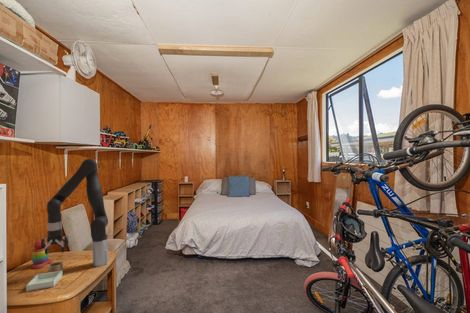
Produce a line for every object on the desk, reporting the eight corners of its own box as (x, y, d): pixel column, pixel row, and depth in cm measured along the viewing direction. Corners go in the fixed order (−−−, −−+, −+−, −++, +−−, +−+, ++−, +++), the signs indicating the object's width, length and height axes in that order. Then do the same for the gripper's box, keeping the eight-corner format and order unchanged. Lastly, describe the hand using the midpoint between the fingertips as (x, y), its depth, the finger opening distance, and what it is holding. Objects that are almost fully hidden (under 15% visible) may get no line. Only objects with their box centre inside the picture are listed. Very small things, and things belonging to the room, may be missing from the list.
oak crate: (63, 270, 152) (62, 261, 152) (59, 274, 146) (59, 265, 146) (52, 271, 150) (52, 262, 150) (48, 276, 144) (48, 267, 144)
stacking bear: (38, 269, 154) (38, 243, 154) (27, 268, 156) (26, 242, 156) (54, 261, 164) (53, 237, 164) (43, 260, 166) (42, 236, 166)
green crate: (62, 275, 145) (62, 270, 145) (53, 286, 132) (53, 280, 132) (37, 279, 140) (37, 274, 140) (26, 291, 128) (26, 285, 128)
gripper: (69, 225, 154) (70, 249, 154) (44, 228, 149) (44, 252, 149) (65, 229, 147) (65, 253, 147) (38, 231, 142) (39, 257, 142)
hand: (55, 253), depth 148 cm, fingers open, 8 cm apart
